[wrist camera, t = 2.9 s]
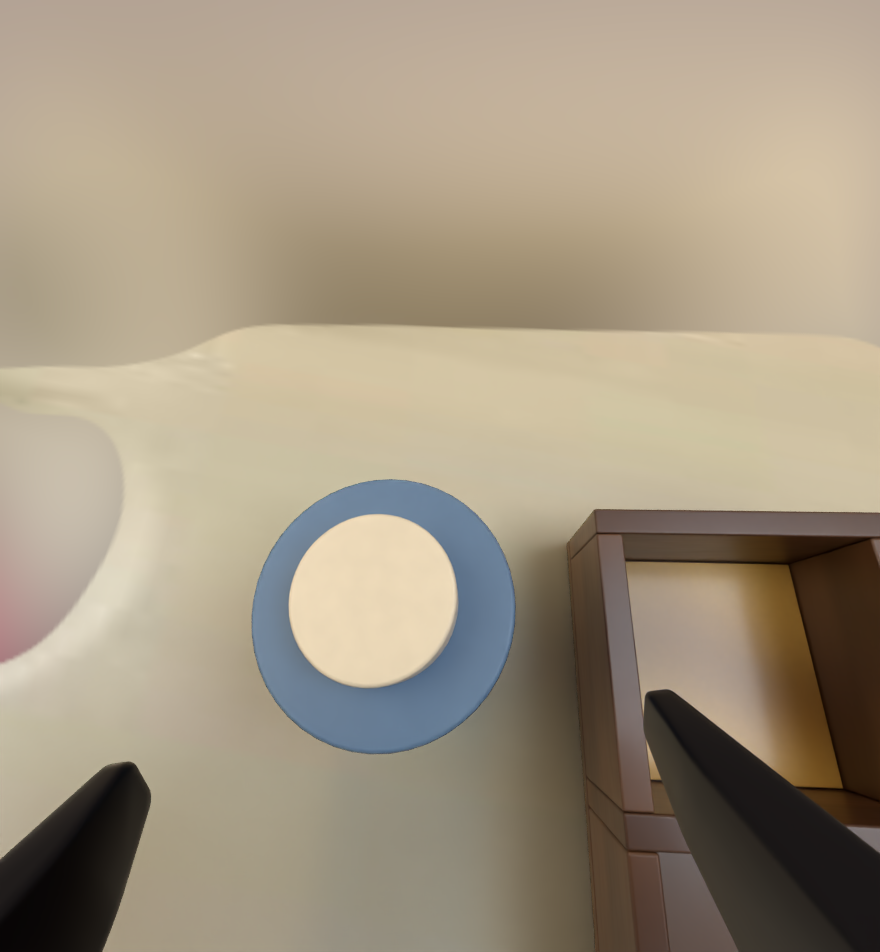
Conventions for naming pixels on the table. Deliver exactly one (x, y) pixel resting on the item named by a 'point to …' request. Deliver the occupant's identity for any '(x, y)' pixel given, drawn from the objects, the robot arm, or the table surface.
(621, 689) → the organizer
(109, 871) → the robot arm
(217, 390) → the table surface
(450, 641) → the bottle
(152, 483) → the table surface
